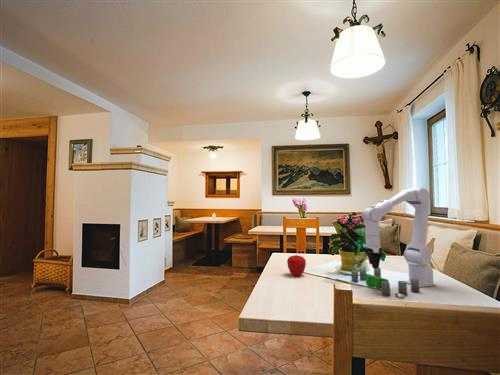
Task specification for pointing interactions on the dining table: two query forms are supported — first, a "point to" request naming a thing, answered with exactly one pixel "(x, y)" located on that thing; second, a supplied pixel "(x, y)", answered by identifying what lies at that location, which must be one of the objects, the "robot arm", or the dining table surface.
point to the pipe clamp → (375, 281)
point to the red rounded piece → (296, 265)
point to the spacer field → (386, 285)
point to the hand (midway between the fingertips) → (373, 266)
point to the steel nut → (399, 295)
